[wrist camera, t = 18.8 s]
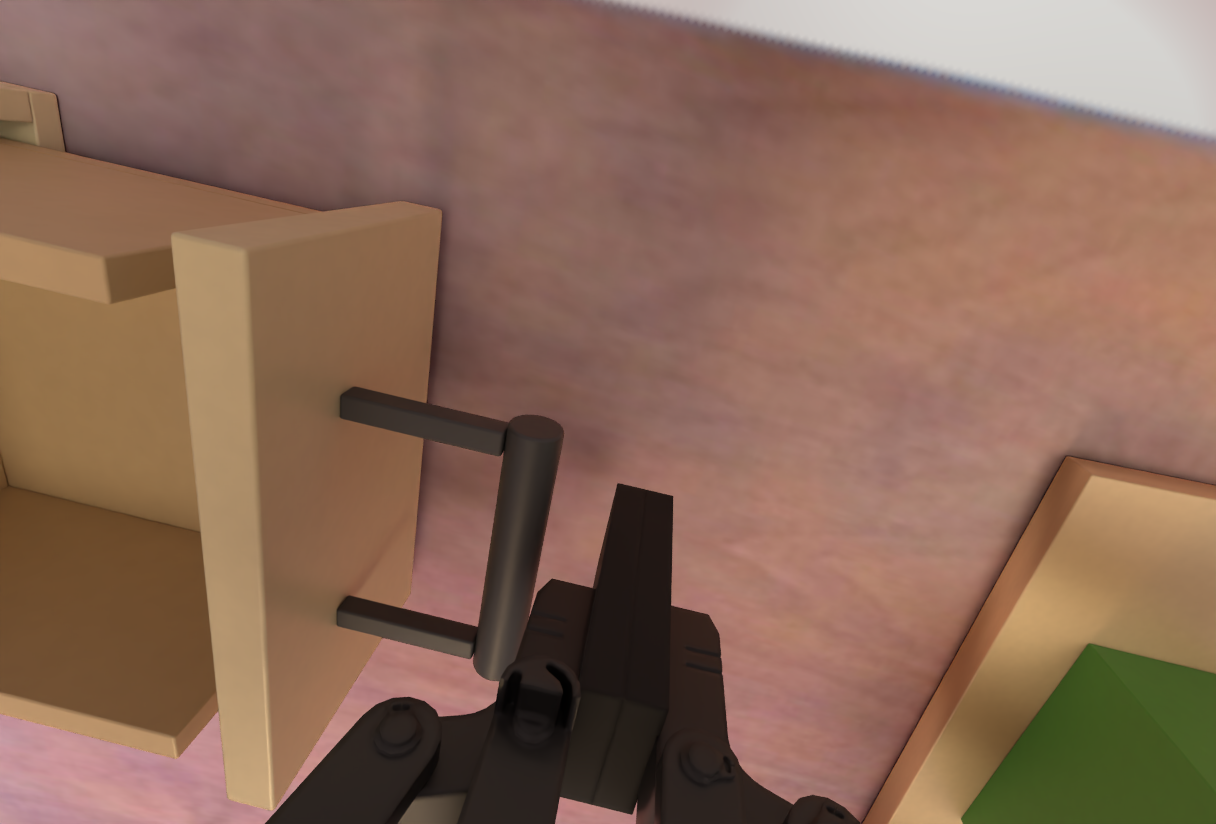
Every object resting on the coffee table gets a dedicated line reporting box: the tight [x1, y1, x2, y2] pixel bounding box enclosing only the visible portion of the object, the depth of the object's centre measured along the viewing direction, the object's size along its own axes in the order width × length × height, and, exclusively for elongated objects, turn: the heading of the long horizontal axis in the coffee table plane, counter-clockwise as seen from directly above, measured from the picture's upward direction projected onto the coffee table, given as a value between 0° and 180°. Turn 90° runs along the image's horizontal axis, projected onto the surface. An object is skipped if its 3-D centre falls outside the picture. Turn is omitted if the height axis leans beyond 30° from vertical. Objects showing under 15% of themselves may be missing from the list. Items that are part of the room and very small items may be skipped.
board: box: [863, 456, 1216, 824], centre depth 21 cm, size 20×10×1 cm, turn 170°
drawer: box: [0, 138, 564, 810], centre depth 15 cm, size 19×13×8 cm
